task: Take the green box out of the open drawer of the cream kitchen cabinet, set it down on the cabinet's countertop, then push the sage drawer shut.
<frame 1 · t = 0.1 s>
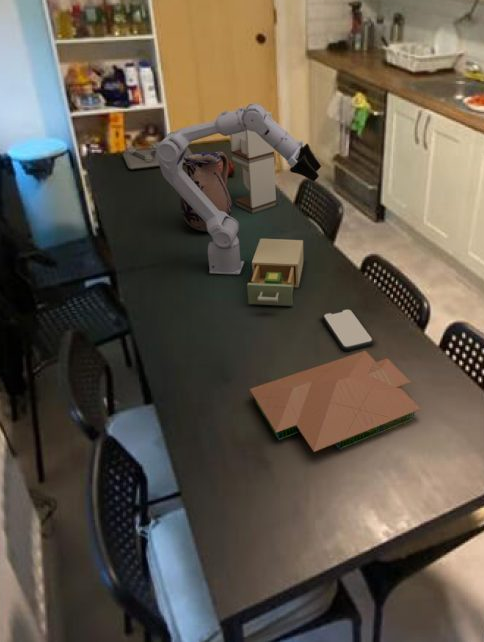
hand: (317, 173, 158), 32 cm above the table, tool tilted 50°, fingers open, 7 cm apart
cabinet: (279, 273, 175), on the table
beverage can: (220, 177, 242), on the table
ceramic pitcher: (211, 224, 203), on the table
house: (338, 408, 126), on the table
green box: (273, 288, 163), point 2 cm above the table, touching drawer
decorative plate: (160, 160, 258), on the table
drawer: (272, 285, 161), point 4 cm above the table, slide at 10.0 cm, touching green box
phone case: (347, 332, 150), on the table
gray hollow column: (256, 205, 218), on the table
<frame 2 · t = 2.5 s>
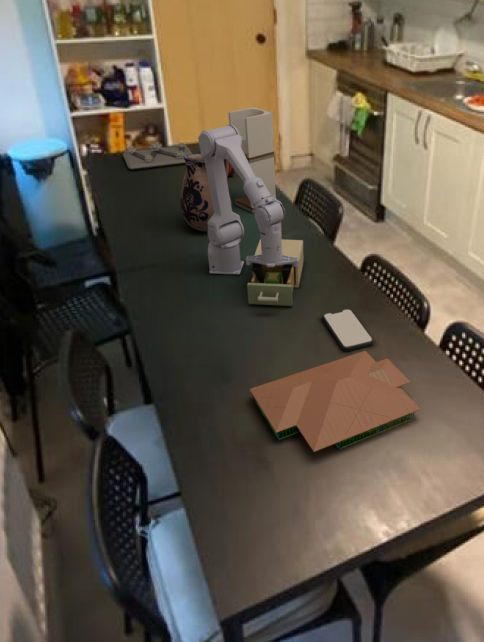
hand: (273, 286, 163), 3 cm above the table, tool pointing down, fingers closed on drawer, 6 cm apart
drawer: (272, 285, 161), point 4 cm above the table, slide at 10.0 cm, touching gripper, green box
everything else where it was.
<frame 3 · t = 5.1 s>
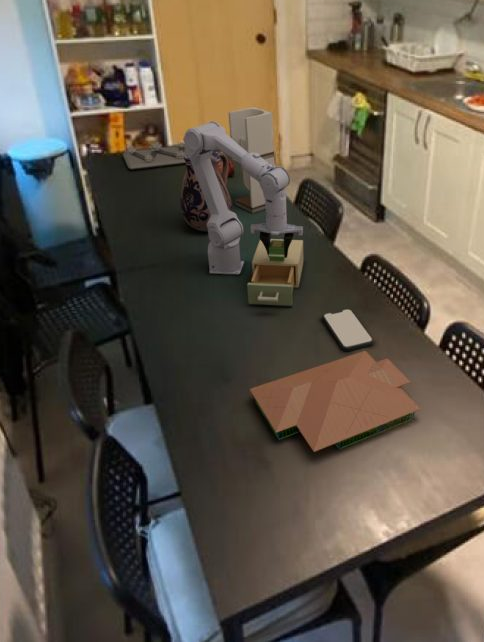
hand: (277, 255, 163), 10 cm above the table, tool pointing down, fingers closed on green box, 4 cm apart
green box: (277, 257, 163), point 10 cm above the table, touching gripper
drawer: (272, 285, 161), point 4 cm above the table, slide at 10.0 cm
everything else where it was.
when the fingers open (8 cm above the table, at t = 7.3 s): green box stays where it is, resting on cabinet.
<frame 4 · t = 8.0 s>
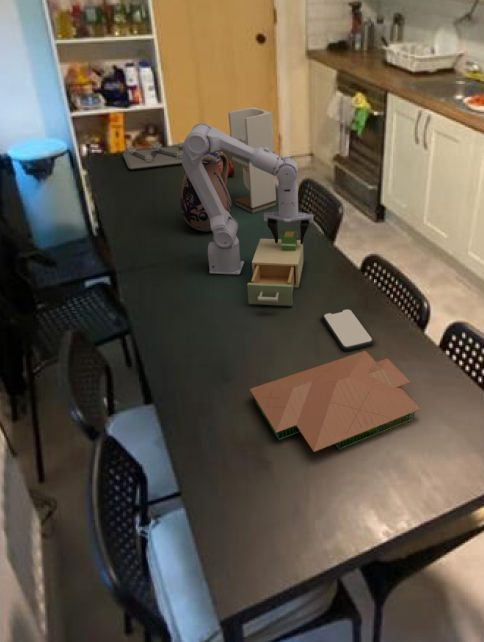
hand: (289, 242, 172), 9 cm above the table, tool pointing down, fingers open, 7 cm apart
green box: (289, 246, 173), point 8 cm above the table, touching cabinet
everything else where it was.
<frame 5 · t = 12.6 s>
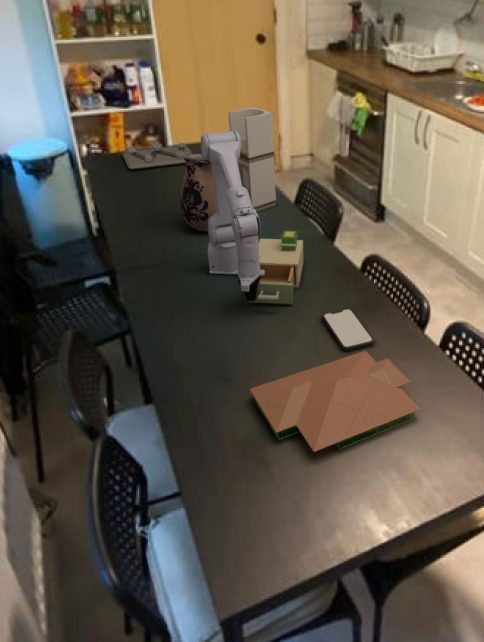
hand: (251, 299, 156), 3 cm above the table, tool pointing down, fingers closed
drawer: (272, 284, 162), point 4 cm above the table, slide at 9.2 cm, touching gripper
everything else where it was.
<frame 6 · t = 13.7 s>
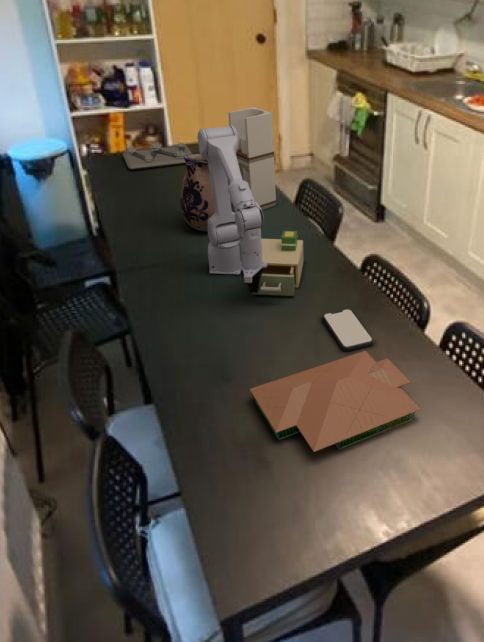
hand: (254, 291, 160), 3 cm above the table, tool pointing down, fingers closed
drawer: (275, 276, 165), point 4 cm above the table, slide at 4.8 cm, touching gripper
everything else where it was.
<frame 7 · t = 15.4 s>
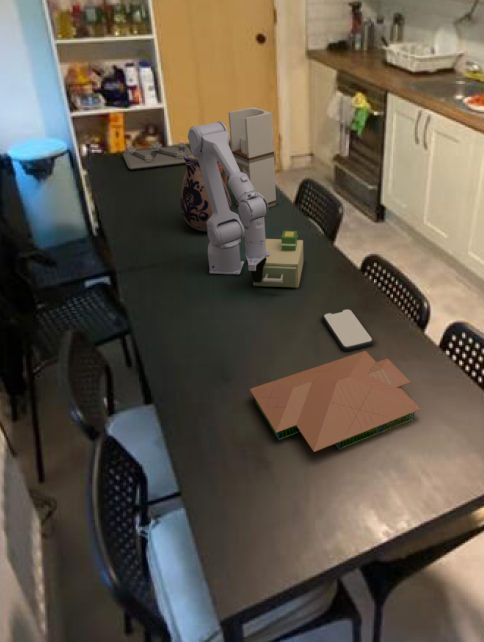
hand: (257, 280, 165), 3 cm above the table, tool pointing down, fingers closed, pressing on drawer
drawer: (277, 268, 169), point 4 cm above the table, slide at 0.0 cm, touching cabinet, gripper
everything else where it was.
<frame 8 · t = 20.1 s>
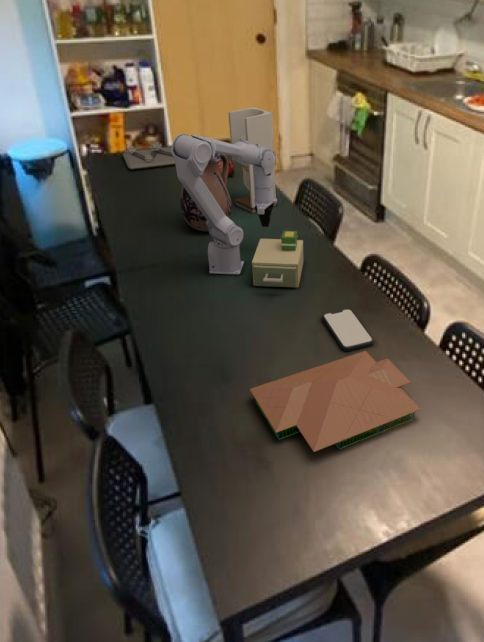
hand: (265, 225, 181), 9 cm above the table, tool pointing down, fingers closed
drawer: (277, 268, 169), point 4 cm above the table, slide at 0.0 cm, touching cabinet
everything else where it was.
at the end: green box inside the target area on the cabinet (4.2 cm from its centre), point 8.0 cm above the cabinet's base; green box tilted 0°; drawer slide at 0.0 cm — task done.
